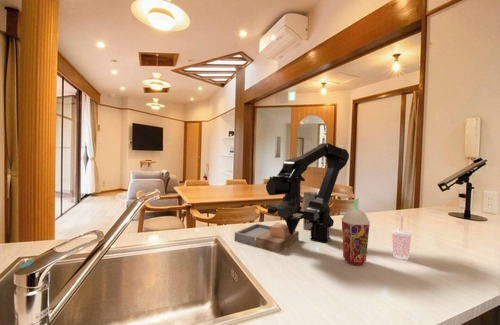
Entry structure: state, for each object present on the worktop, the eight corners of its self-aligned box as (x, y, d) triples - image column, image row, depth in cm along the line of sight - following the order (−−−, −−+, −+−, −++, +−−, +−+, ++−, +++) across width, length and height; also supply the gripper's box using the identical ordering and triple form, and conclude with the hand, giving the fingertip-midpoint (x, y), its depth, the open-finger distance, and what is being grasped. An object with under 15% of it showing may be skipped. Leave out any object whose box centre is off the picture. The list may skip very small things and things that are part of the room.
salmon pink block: (291, 234, 95) (291, 225, 95) (283, 238, 90) (284, 229, 90) (277, 231, 98) (277, 222, 98) (269, 235, 93) (270, 226, 93)
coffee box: (317, 230, 111) (318, 195, 111) (303, 229, 113) (303, 194, 112) (316, 224, 120) (316, 192, 120) (302, 223, 122) (303, 191, 121)
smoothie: (366, 270, 73) (368, 204, 72) (338, 263, 77) (339, 201, 77) (370, 260, 80) (371, 200, 79) (343, 254, 84) (344, 197, 84)
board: (298, 239, 98) (298, 231, 98) (279, 252, 85) (279, 243, 85) (276, 234, 104) (276, 226, 104) (256, 246, 91) (256, 237, 91)
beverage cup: (387, 255, 84) (388, 215, 83) (394, 251, 88) (396, 213, 87) (407, 262, 79) (408, 219, 78) (414, 257, 83) (415, 217, 82)
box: (276, 234, 104) (276, 227, 104) (255, 246, 91) (255, 237, 91) (256, 230, 110) (256, 223, 110) (234, 240, 97) (234, 232, 97)
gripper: (260, 193, 89) (259, 235, 90) (308, 199, 79) (307, 246, 79) (274, 190, 99) (274, 228, 99) (319, 194, 88) (318, 237, 89)
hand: (291, 234), depth 91 cm, fingers closed
